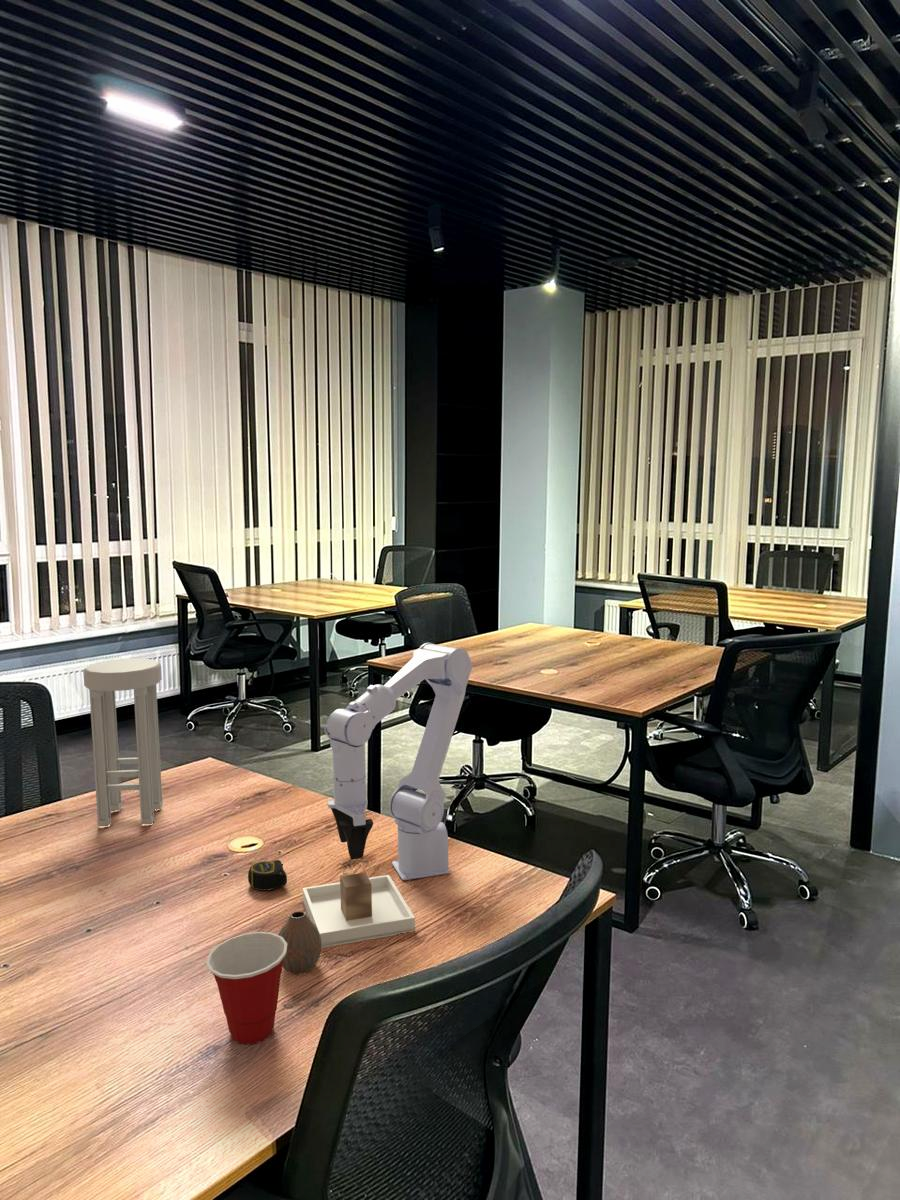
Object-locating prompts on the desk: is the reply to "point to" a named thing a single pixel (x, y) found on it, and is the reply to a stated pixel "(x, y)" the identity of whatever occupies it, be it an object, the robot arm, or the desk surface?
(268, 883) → the tape measure
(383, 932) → the tray
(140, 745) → the stool
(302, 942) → the vase
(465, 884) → the desk surface
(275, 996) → the plastic cup
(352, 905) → the walnut block
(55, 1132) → the desk surface
